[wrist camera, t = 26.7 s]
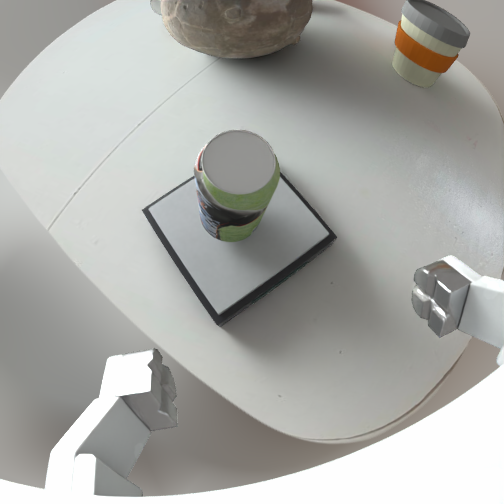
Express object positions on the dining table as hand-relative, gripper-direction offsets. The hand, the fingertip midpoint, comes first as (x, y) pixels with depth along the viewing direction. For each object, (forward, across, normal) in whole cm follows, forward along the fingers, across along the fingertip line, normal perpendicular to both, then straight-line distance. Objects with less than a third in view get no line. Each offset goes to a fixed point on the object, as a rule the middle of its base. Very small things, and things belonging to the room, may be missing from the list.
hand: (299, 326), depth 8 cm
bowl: (+50, -10, -18) cm, 54 cm away
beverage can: (+22, 0, +5) cm, 23 cm away
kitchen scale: (+24, 0, +7) cm, 25 cm away
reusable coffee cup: (+41, -41, -9) cm, 59 cm away
